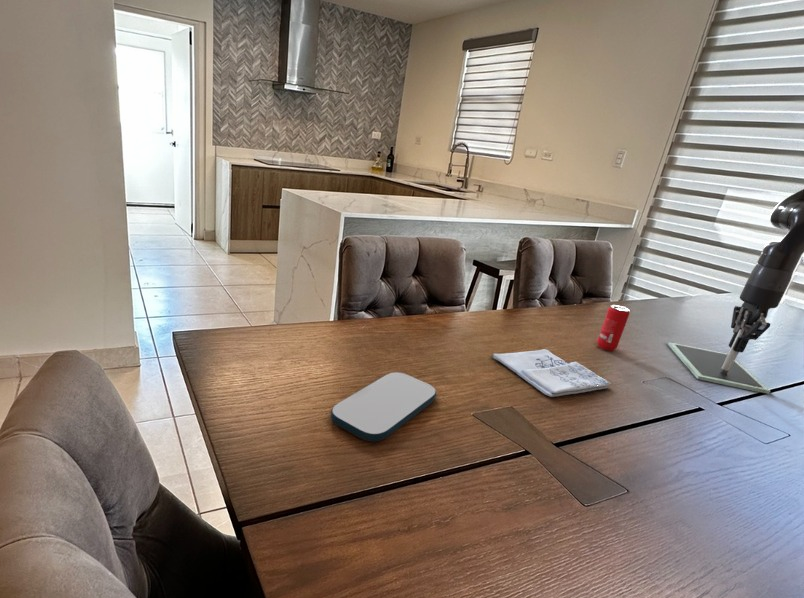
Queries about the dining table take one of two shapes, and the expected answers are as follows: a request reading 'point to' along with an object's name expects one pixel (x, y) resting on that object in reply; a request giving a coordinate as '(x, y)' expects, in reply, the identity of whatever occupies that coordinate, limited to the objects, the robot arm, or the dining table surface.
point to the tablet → (716, 368)
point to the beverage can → (613, 327)
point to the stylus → (730, 358)
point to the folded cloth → (552, 373)
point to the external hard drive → (383, 406)
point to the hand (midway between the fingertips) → (735, 349)
